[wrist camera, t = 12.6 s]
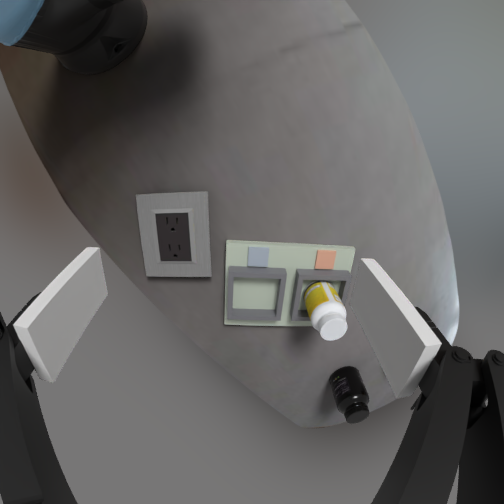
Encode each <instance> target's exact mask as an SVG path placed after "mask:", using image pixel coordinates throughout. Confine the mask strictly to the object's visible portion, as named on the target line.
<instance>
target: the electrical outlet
mask: <svg viewBox="0 0 504 504" xmlns="http://www.w3.org/2000/svg"><path fill="white" fill-rule="evenodd" d="M136 203H137V212H138V221H139V229H140V237H141V244H142V251H143V257H144V264H145V270H146V276H152V277H212V270H211V252H210V231H209V207H208V192H176V193H154V194H137V195H136Z"/></svg>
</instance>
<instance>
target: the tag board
mask: <svg viewBox="0 0 504 504" xmlns="http://www.w3.org/2000/svg"><path fill="white" fill-rule="evenodd" d="M355 250H356V249H355V248H354V247H353V246H337V245H318V244H300V243H280V242H260V241H239V240H227V242H226V273H225V324H227V325H254V326H313V325H312V323H311V321H310V318H309V315H308V311H307V308H306V305H305V302H304V299H303V292H304V290H305V288H306V286H307V285H308V284H309V283H311V282H312V281H315V280H327V281H329V282H331V283H332V285H333V286H334V288H335V290H336V292H337V294H338V296H339V298H340V299H341V301H342V303H343V305H344V306H345V302H346V299H347V295H348V291H349V287H350V283H351V279H352V275H351V274H350V272H351V268H352V263H353V259H354V254H355Z"/></svg>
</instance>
